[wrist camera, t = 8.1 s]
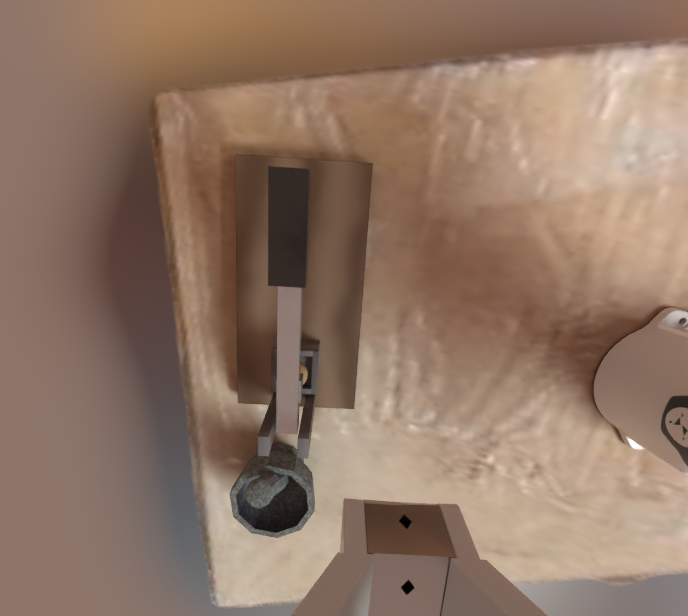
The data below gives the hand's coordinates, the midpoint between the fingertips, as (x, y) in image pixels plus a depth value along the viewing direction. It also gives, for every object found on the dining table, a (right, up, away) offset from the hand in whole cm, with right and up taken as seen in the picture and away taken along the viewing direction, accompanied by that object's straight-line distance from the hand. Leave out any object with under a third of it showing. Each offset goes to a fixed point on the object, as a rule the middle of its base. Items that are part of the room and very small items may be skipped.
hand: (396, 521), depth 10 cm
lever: (-6, +6, +25) cm, 26 cm away
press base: (-6, +8, +33) cm, 35 cm away
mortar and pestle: (-10, -14, +39) cm, 43 cm away
